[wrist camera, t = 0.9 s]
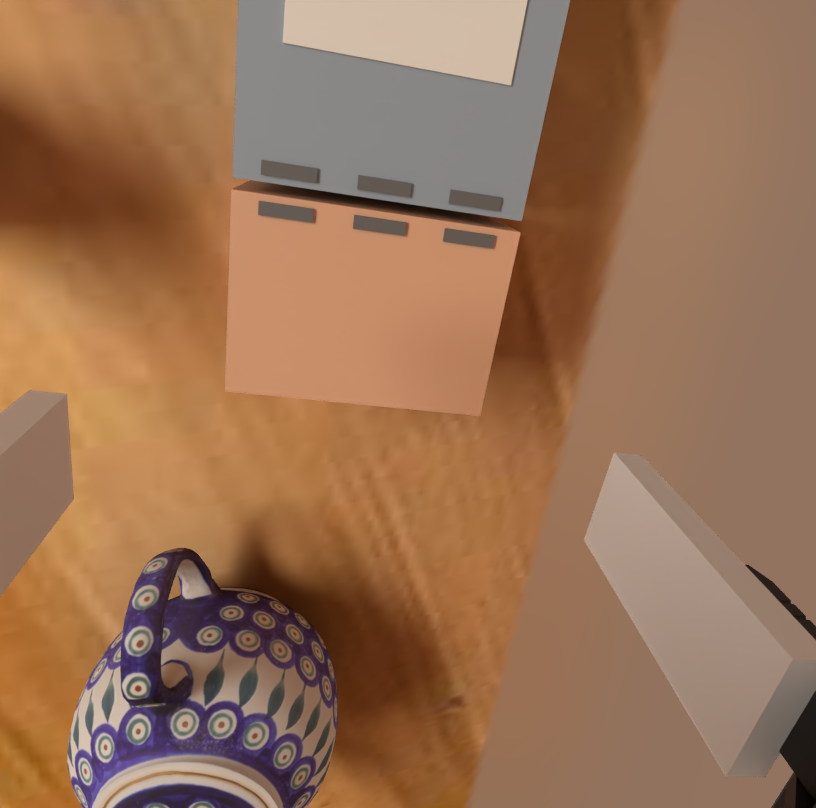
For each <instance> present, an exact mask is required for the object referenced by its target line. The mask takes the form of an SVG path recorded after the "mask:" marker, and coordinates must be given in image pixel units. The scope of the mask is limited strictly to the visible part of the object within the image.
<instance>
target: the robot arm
mask: <svg viewBox="0 0 816 808" xmlns="http://www.w3.org/2000/svg"><path fill="white" fill-rule="evenodd" d="M73 499H74V495H73V480H72V464H71V449H70V434H69V419H68V404H67V394H60V393H51V392H42V391H32V390H29V391H28V392H27V393H25V394H24V395H23V396H22V397H20V398H19V399H18V400H17V401H15V402H14V403H13V404H12V405H10V406H9V407H8V408H7V409H5V410H4V411H3V412H2V413H0V596H1V595H2V594H3V592H4V591H5V590H6V588H7V587H8V586H9V584H10V583H11V582H12V580H13V579H14V578H15V576H16V575H17V574H18V572H19V571H20V570H21V568H22V567H23V566H24V564H25V563H26V562H27V560H28V559H29V558H30V556H31V555H32V554H33V552H34V551H35V550H36V548H37V547H38V546H39V545H40V543H41V542H42V541H43V539H44V538H45V537H46V535H47V534H48V533H49V531H50V530H51V529H52V527H53V526H54V525H55V523H56V522H57V521H58V519H59V518H60V517H61V515H62V514H63V513H64V511H65V510H66V509H67V507H68V506H69V505H70V503H71V502H72V501H73ZM584 541H585V542H586V544H587V546H588V547H589V549H590V551H591V552H592V554H593V556H594V557H595V559H596V561H597V562H598V564H599V566H600V568H601V569H602V571H603V573H604V574H605V576H606V578H607V579H608V581H609V583H610V584H611V586H612V588H613V589H614V591H615V592H616V594H617V596H618V597H619V599H620V601H621V603H622V604H623V606H624V608H625V609H626V611H627V613H628V614H629V616H630V617H631V619H632V621H633V622H634V624H635V626H636V627H637V629H638V631H639V633H640V634H641V636H642V638H643V639H644V641H645V643H646V644H647V646H648V648H649V649H650V651H651V653H652V654H653V656H654V658H655V659H656V661H657V663H658V664H659V666H660V668H661V669H662V671H663V673H664V674H665V675H666V678H667V679H668V681H669V683H670V684H671V686H672V688H673V689H674V691H675V693H676V694H677V696H678V698H679V699H680V701H681V703H682V704H683V706H684V708H685V709H686V711H687V713H688V714H689V716H690V718H691V719H692V721H693V723H694V724H695V726H696V728H697V729H698V731H699V733H700V734H701V736H702V737H703V739H704V741H705V743H706V744H707V746H708V748H709V749H710V751H711V753H712V754H713V756H714V758H715V759H716V761H717V763H718V764H719V766H720V768H721V769H722V771H723V773H724V774H725V776H726V777H766V775H767V774H768V772H769V770H770V769H771V767H772V765H773V764H774V762H775V760H776V759H777V757H778V755H779V754H780V753H781V754H782V756H783V757H784V759H785V760H786V761H787V762H788V764H789V766H790V767H791V768H792V770H793V771H794V773H793V774H792V776H791V778H790V779H789V781H788V782H787V784H786V785H785V787H784V788H783V790H782V792H781V793H780V795H779V796H778V798H777V799H776V801H775V803H774V804H773V806H772V807H771V808H816V626H815V625H814V624H813V623H812V622H811V621H810V620H806V616H805V615H804V614H803V613H802V612H801V611H800V610H799V609H798V608H797V607H796V606H795V605H794V604H791V601H790V599H789V598H788V597H786V595H785V594H784V593H783V592H782V591H781V590H780V589H779V588H778V587H777V586H776V585H775V584H774V583H773V582H772V581H771V580H769V579H768V578H766V577H765V576H763V575H762V574H761V573H759V572H758V571H756V570H755V569H753V568H752V567H750V566H749V565H744V564H743V563H742V561H741V560H740V559H739V558H738V557H737V556H736V555H735V554H734V553H733V552H732V551H731V550H730V549H729V548H728V547H727V546H726V545H725V543H724V542H723V541H722V540H721V539H720V538H719V537H718V536H717V535H716V534H715V533H714V532H713V531H712V530H711V529H710V528H709V526H708V525H707V524H706V523H705V522H704V521H703V520H702V519H701V518H700V517H699V516H698V515H697V514H696V513H695V512H694V511H693V509H692V508H691V507H690V506H689V505H688V504H687V503H686V502H685V501H684V500H683V499H682V498H681V497H680V496H679V495H678V494H677V492H676V491H675V490H674V489H673V488H672V487H671V486H670V485H669V484H668V483H667V482H666V481H665V480H664V479H663V478H662V477H661V475H660V474H659V473H658V472H657V471H656V470H655V469H654V468H653V467H652V466H651V465H650V464H649V463H648V462H647V461H646V460H645V458H644V457H643V456H642V455H634V454H624V453H614V454H613V457H612V460H611V463H610V466H609V469H608V472H607V475H606V478H605V481H604V483H603V486H602V489H601V492H600V495H599V498H598V501H597V504H596V507H595V510H594V512H593V515H592V518H591V521H590V524H589V527H588V530H587V533H586V536H585V539H584Z"/></svg>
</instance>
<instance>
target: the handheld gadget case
mask: <svg viewBox="0 0 816 808" xmlns="http://www.w3.org/2000/svg"><path fill="white" fill-rule="evenodd" d="M569 4H570V0H238V23H237V55H236V86H235V118H234V149H233V177H234V178H240V179H247V180H254V181H260V182H267V183H273V184H280V185H287V186H293V187H300V188H306V189H313V190H319V191H326V192H333V193H339V194H346V195H352V196H359V197H366V198H372V199H379V200H385V201H392V202H399V203H405V204H412V205H418V206H425V207H431V208H438V209H445V210H451V211H458V212H464V213H471V214H478V215H484V216H491V217H497V218H504V219H510V220H517V221H522V217H523V213H524V208H525V204H526V199H527V195H528V190H529V186H530V181H531V177H532V172H533V167H534V163H535V158H536V154H537V149H538V145H539V140H540V136H541V131H542V127H543V122H544V118H545V113H546V109H547V104H548V99H549V95H550V90H551V86H552V81H553V77H554V72H555V68H556V63H557V59H558V54H559V50H560V45H561V41H562V36H563V31H564V27H565V22H566V18H567V13H568V9H569Z"/></svg>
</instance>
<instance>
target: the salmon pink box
mask: <svg viewBox="0 0 816 808" xmlns="http://www.w3.org/2000/svg"><path fill="white" fill-rule="evenodd" d="M520 233H521V232H519V231H517V230H515V229H514V228H512V227H510V226H508V225H506V224H504V223H502V222H500V221H499V220H497V219H495V218H493V217H491V216H484V215H478V214H471V213H464V212H458V211H451V210H445V209H438V208H431V207H425V206H418V205H412V204H405V203H399V202H392V201H385V200H379V199H372V198H366V197H359V196H352V195H346V194H339V193H333V192H326V191H319V190H313V189H306V188H300V187H293V186H287V185H280V184H273V183H267V182H260V181H254V180H250V181H248V182H246V183H244V184H242V185H240V186H237V187H235V188H233V189H231V215H230V247H229V279H228V312H227V344H226V376H225V391H228V392H239V393H249V394H259V395H269V396H279V397H290V398H300V399H310V400H320V401H331V402H341V403H351V404H361V405H371V406H382V407H392V408H402V409H412V410H422V411H433V412H443V413H453V414H463V415H473V416H480V414H481V409H482V405H483V400H484V396H485V391H486V387H487V382H488V378H489V373H490V369H491V364H492V360H493V355H494V351H495V346H496V342H497V337H498V333H499V328H500V324H501V319H502V315H503V310H504V306H505V301H506V297H507V292H508V288H509V283H510V279H511V274H512V270H513V265H514V260H515V256H516V251H517V247H518V242H519V238H520Z"/></svg>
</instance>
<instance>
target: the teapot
mask: <svg viewBox="0 0 816 808" xmlns="http://www.w3.org/2000/svg"><path fill="white" fill-rule="evenodd" d="M176 573H177V574H178V577H179V581H180V586H181V595H180V596H178V597H175V598H173V599H170V600H168V597H169V594H170V590H171V587H172V584H173V580H174V578H175V575H176ZM337 719H338V699H337V685H336V678H335V673H334V668H333V664H332V660H331V657H330V655H329V653H328V650H327V648H326V646H325V644H324V642H323V640H322V638H321V637H320V635H319V634H318V633H317V631H316V630H315V628H314V627H313V626H312V625H311V624H310V623H309V622H308V621H307V620H306V619H305V618H304V617H303V616H302V615H300V614H299V613H298V612H296V611H295V610H293V609H292V608H291V607H289V606H287V605H285V604H283V603H282V602H280V601H279V600H277V599H276V598H273V597H271V596H269V595H267V594H265V593H262V592H259V591H255V590H250V589H245V588H231V587H230V588H219V587H218V585H217V584H216V583H215V581H214V580H213V579H212V577H211V573H210V570H209V569H208V567H207V566H206V564H205V563H204V562H203V560H202V559H201V558H200V556H199V555H198V554H197V553H195V552H194V551H193V550H190V549H187V548H176V549H172V550H168V551H165V552H163V553H161V554H159V555H157V556H155V557H154V558H153V559H152V560H150V561H149V562H148V563H147V565H146V566H145V568H144V569H143V571H142V573H141V575H140V577H139V578H138V580H137V582H136V584H135V588H134V591H133V594H132V596H131V599H130V601H129V605H128V609H127V613H126V617H125V621H124V628H123V631H122V632H121V633H120V634H119V635H118V636H117V637H116V638H115V640H114V641H113V642H112V644H111V645H110V646H109V647H108V649H107V650H106V651H105V653H104V654H103V656H102V657H101V658H100V660H99V661H98V663H97V665H96V666H95V668H94V670H93V672H92V674H91V676H90V677H89V679H88V681H87V683H86V685H85V688H84V690H83V692H82V694H81V696H80V699H79V702H78V705H77V707H76V710H75V714H74V718H73V723H72V727H71V731H70V736H69V742H68V770H69V774H70V779H71V782H72V786H73V789H74V792H75V794H76V796H77V798H78V800H79V802H80V804H81V805H82V807H83V808H306V807H307V806H308V804H309V803H310V802H311V800H312V799H313V798H314V796H315V795H316V794H317V792H318V790H319V788H320V786H321V784H322V782H323V780H324V777H325V775H326V772H327V770H328V767H329V764H330V760H331V756H332V752H333V748H334V743H335V738H336V731H337Z"/></svg>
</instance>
